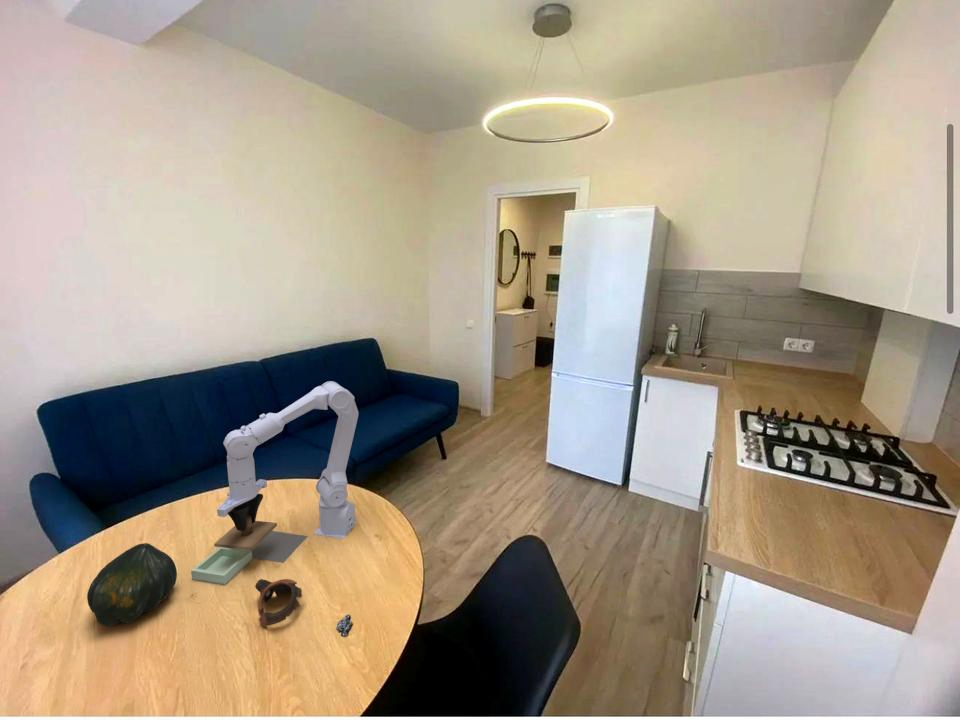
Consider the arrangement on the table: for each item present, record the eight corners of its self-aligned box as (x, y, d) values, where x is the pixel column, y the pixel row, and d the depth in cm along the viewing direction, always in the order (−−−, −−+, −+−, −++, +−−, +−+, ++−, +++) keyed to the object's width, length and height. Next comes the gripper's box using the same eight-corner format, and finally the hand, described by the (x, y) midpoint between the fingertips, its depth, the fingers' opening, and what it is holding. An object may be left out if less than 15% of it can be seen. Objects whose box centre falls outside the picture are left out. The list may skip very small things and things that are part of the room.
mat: (308, 537, 112) (308, 536, 112) (283, 564, 101) (283, 562, 101) (270, 531, 114) (270, 530, 114) (241, 557, 103) (241, 556, 103)
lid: (277, 525, 106) (275, 508, 105) (252, 550, 96) (251, 531, 95) (242, 522, 107) (240, 504, 105) (214, 546, 97) (212, 527, 96)
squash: (52, 622, 77) (106, 562, 77) (101, 570, 91) (147, 520, 92) (123, 651, 81) (174, 594, 82) (160, 598, 95) (203, 550, 96)
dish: (252, 560, 102) (251, 550, 102) (225, 586, 93) (224, 575, 93) (222, 555, 103) (220, 545, 103) (192, 581, 95) (190, 570, 94)
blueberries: (362, 611, 89) (362, 604, 89) (365, 638, 82) (365, 630, 81) (330, 619, 87) (330, 612, 86) (330, 648, 79) (330, 640, 79)
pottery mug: (314, 597, 92) (308, 585, 86) (285, 641, 85) (276, 631, 80) (273, 574, 94) (265, 560, 89) (241, 615, 88) (230, 603, 82)
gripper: (248, 462, 106) (252, 508, 108) (203, 490, 92) (208, 541, 94) (272, 465, 105) (275, 511, 107) (230, 493, 90) (235, 545, 93)
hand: (246, 526), depth 101 cm, fingers closed on lid, 3 cm apart
